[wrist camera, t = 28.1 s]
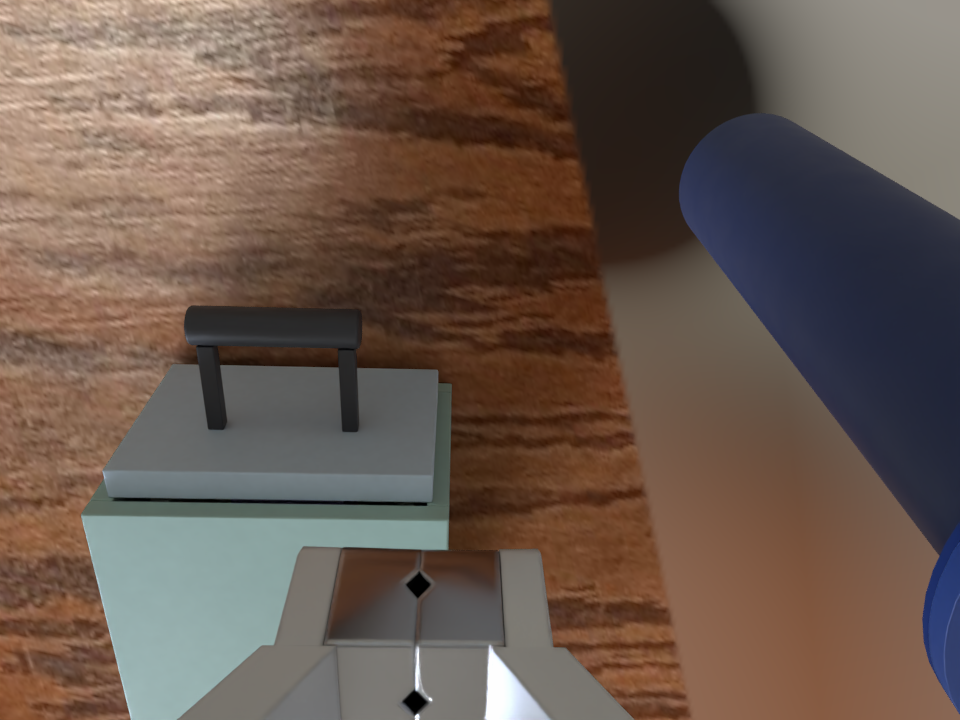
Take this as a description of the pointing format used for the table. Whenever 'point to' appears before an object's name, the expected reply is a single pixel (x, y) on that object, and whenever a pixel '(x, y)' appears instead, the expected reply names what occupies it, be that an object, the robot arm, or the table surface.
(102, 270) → the table surface
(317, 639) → the robot arm
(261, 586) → the mint green drawer box
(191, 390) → the drawer
